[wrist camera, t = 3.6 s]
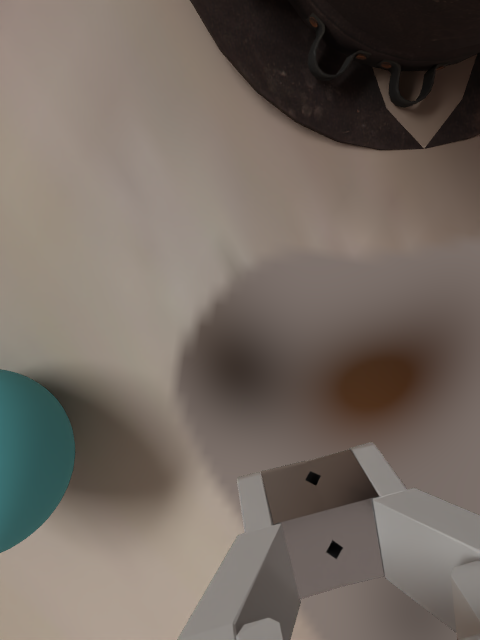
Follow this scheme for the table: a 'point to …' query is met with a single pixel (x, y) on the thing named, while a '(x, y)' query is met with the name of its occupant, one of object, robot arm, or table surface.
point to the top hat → (349, 60)
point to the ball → (31, 456)
